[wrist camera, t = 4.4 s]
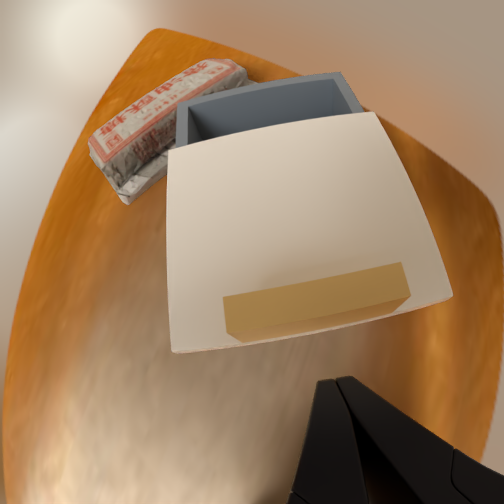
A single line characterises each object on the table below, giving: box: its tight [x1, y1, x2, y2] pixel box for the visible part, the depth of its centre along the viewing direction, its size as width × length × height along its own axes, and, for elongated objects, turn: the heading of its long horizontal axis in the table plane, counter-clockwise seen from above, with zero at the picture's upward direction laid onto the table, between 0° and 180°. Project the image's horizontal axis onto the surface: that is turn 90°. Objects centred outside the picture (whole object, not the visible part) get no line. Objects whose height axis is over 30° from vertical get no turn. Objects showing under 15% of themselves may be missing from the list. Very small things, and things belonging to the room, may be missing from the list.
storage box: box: [175, 72, 364, 148], centre depth 20 cm, size 11×12×7 cm
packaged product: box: [88, 58, 258, 205], centre depth 28 cm, size 18×5×10 cm
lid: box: [166, 111, 453, 354], centre depth 13 cm, size 11×12×3 cm
